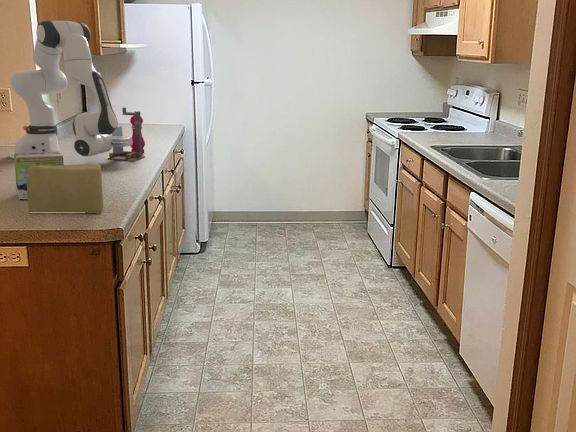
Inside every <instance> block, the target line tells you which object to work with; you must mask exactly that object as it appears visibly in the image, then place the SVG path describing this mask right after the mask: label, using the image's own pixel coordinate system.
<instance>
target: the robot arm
mask: <svg viewBox="0 0 576 432" xmlns="http://www.w3.org/2000/svg"><path fill="white" fill-rule="evenodd" d="M91 35H92V34H91V30H90V29H89V27H88V25H87V24H85V23H83V22H80V21H72V20H43V21H40V22H39V23H38V25H37V26H36V41H35V45H34V48H33V51H32V52H33V53H32V60H33V62H34V64H35V65H36V66H37V67H38V68H40V69H30V70H28V69H27V70H25V69H24V70H19V71H16V72H13V73H12V75H11V77H10V79H9V85H10V88H11V89H12V91H13V92H14V94H16V95H18V96H19V97H21V99H22V100H23V102H24V103H25V106H26V108H27V111H28V116H29V118H28V119H29V125H28V126H27V125H23V130H24V131H25V134H24V135H23V136H22V137H20V138H19V139H18V140H17V141H16V142H15V143H14V144H15V145H14V148H13V149H14V150H13V152H11V153H9V158H11V159H13V160H14V153H35V152H60V153H61V154H62V152H61V151H62V150H61V148H60V145H59V141H58V134H59V133H58V126H57V124H56V113H55V108H54V107H53V105H52V104H50V103H48V102H46V101H44V98H43V95H57V94H59V93H64V92H65V91H66V90H67V88H68V85H69V84H68V78H69V79H70V80H72V81H73V82H74V83H77V84H80V85H83V86H86V87H89V88H90V89H91V90H92V92H93V94H94V97H95V101H96V103H97V106H98V111H93V112H92V111H91V112H84V113H83V112H82V113H78V114H76V115H75V116H74V119H73V121H72V132H73V134H74V136H75V140H74V142H73V143H74V144H73V147H74V150H75V152H76V154H78V155H80V156H81V157H93V156H96V155H99V154H104V153H107V152H110V151H111V150H113V146H116V147H123V148H125V147H126V148H127V147H131V145H132V144H133V141H132V136H123V137H122V136H112V133H113V132H114V131H115V130H116V128H117V126H119V124H118V119H117V116H116V114H115V111H114V109H113V106H112V104H111V99H110V96H109V93H108V90H107V87H106V84H105V81H104V78H103V76H102V74H101V73H100V72H99V71H97V70H96V68H95V66H94V64H93V59H92V58H93V57H92V52H91V49H90V45H89V43H90V41H91ZM62 53H63V55H62ZM61 56H63V62H64V69H65V70H64V71H65V73H66V74H65V73H64V72H63V71H62V70H61V69H60V61H61ZM66 75H67V76H66ZM67 77H68V78H67Z"/></svg>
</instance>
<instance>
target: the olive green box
mask: <svg viewBox="0 0 576 432" xmlns="http://www.w3.org/2000/svg"><path fill="white" fill-rule="evenodd" d="M102 181H103V178H102V165H101V164H100V163H89V164H88V163H87V164H66V165H65V164H64V165H61V166H31V167H29V168H28V173H27V197H28V199H27V206H28V213H29V212H85V213H101V212H102V213H103V210H104V197H103V196H104V195H103V194H104V193H103V182H102ZM102 213H101V214H102Z"/></svg>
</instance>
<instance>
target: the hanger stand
mask: <svg viewBox="0 0 576 432" xmlns="http://www.w3.org/2000/svg"><path fill="white" fill-rule="evenodd" d="M121 110H122V116H134V117H135V141H136V152H131V151H127V150H126V151H125V150H123V153H119V154H116V153H113V151H112V152H109V153H108V157H107V160H108V159H110V160H109V161H120V160H121V162H122V161H123V162H136V161H140V160H141V159H145V158H146V156H145V155H143V154H142V141H141V133H142V129H141V125H142V124H141V117H142V116H141V111H140V110H139V111H134V112H128V111H127V107H122V109H121Z"/></svg>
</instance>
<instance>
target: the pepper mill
mask: <svg viewBox="0 0 576 432" xmlns="http://www.w3.org/2000/svg"><path fill="white" fill-rule="evenodd" d="M143 122H144V120H143V117H142V116H141V130H142V129H143V125H142V124H143ZM129 123H130V124H131V129H132V136H131V137H132V141H133V144H132V145H131V146H130V148H131V150H130V152H136V141H135V117H134V115H131V117H130V119H129ZM141 141H142V155H143V154H145V149H144V148H145V146H146V142H145V138H144V137H143V134H142V132H141Z"/></svg>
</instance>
